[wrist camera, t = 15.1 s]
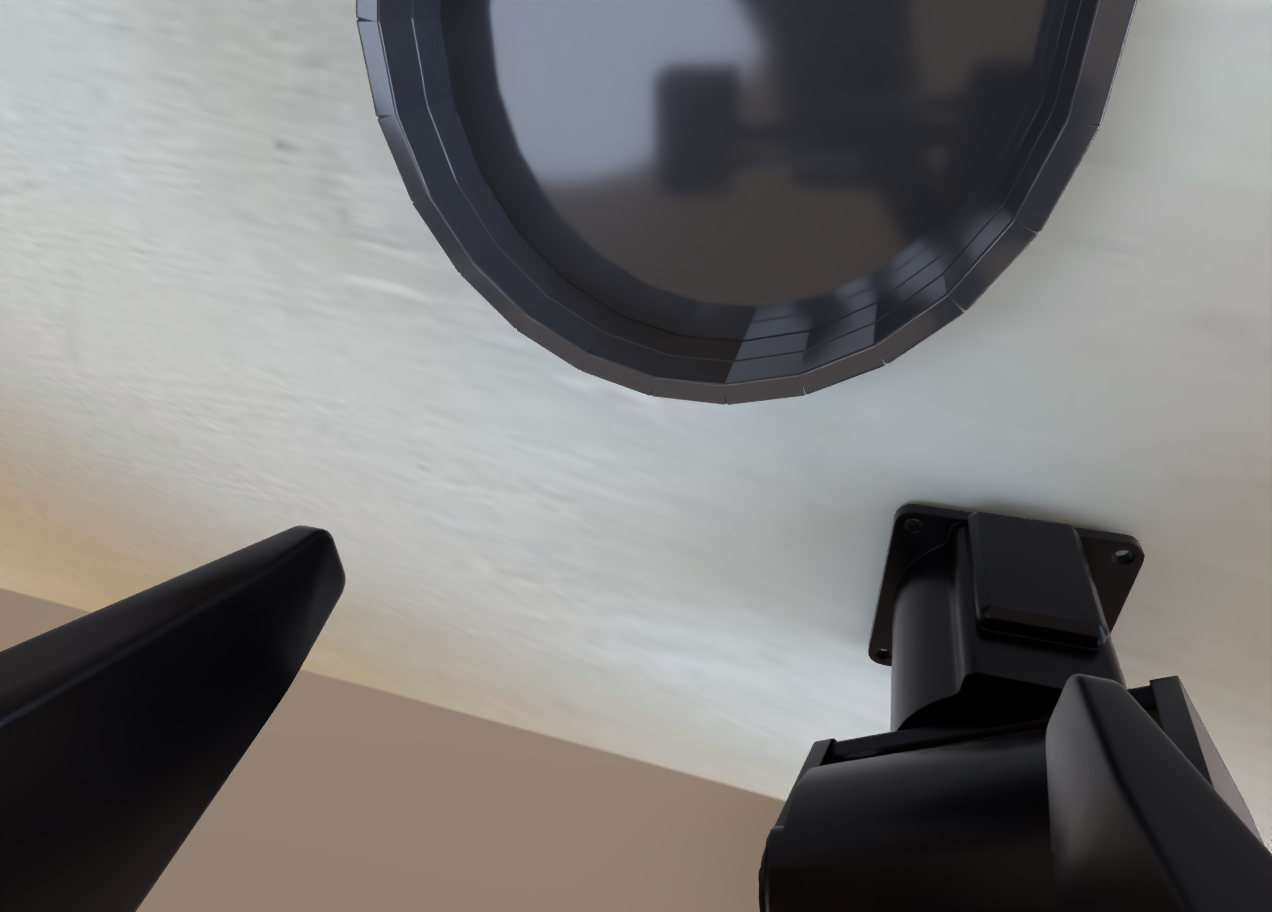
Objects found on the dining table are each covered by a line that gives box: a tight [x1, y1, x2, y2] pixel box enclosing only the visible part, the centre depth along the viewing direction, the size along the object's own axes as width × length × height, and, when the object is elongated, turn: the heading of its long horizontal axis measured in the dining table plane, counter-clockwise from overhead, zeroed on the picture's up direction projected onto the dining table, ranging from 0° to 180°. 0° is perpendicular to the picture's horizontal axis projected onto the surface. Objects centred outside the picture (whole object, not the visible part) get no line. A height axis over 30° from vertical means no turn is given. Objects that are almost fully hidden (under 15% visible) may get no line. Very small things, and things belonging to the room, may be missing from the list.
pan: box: [356, 0, 1137, 405], centre depth 16 cm, size 15×15×3 cm
